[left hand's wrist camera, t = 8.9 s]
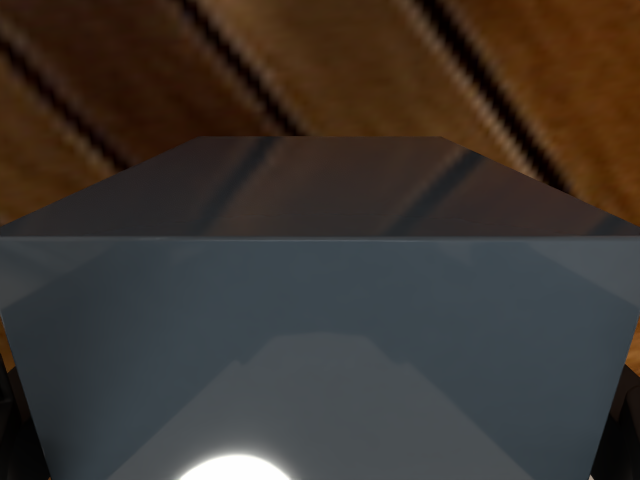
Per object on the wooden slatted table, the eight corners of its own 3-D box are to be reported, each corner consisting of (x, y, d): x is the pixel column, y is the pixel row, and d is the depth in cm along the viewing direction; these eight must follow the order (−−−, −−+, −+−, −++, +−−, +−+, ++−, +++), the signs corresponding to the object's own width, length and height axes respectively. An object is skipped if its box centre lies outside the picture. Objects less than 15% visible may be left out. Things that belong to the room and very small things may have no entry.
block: (219, 348, 18) (103, 653, 8) (197, 136, 15) (-27, 236, 5) (420, 348, 18) (535, 654, 8) (442, 136, 15) (666, 237, 5)
